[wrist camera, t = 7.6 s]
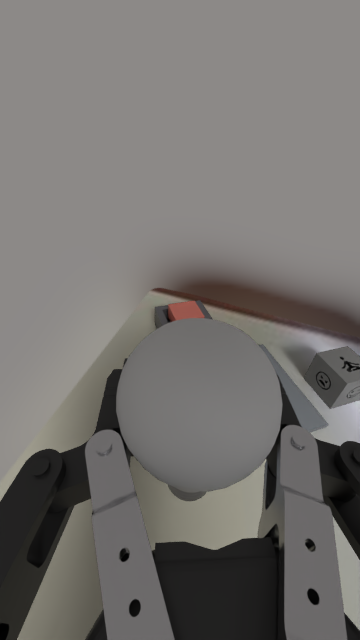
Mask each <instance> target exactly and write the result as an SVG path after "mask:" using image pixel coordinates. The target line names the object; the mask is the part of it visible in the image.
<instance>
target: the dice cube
mask: <svg viewBox="0 0 360 640" xmlns="http://www.w3.org/2000/svg"><path fill="white" fill-rule="evenodd" d="M304 379H305V380H306V381H307V383H308V384H309V385H310V386H311V387H312V388H313V390H314V391H315V392H316V393H317V394H318V395H319V397H320V398H321V399H322V400H323V401H324V402H325V404H326V405H327V406H328V407H329V408H330V409H332V408H335V407H338V406H342V405H345V404H349V403H352V402H355V401H359V400H360V356H358V355H357V354H356V353H355V352H354V351H353V350H351V349H350V348H349V347H348V346H347V347H342V348H338V349H333V350H329V351H324V352H320V353H317V354H316V356H315V358H314V359H313V361H312V363H311V365H310V367H309V369H308V371H307V373H306V375H305V377H304Z"/></svg>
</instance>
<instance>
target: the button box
mask: <svg viewBox="0 0 360 640" xmlns="http://www.w3.org/2000/svg"><path fill="white" fill-rule="evenodd" d="M195 302H196V304H197V305H198V307H199V309H200V310H201V312H202V313H203V315H204V316H205V317H204V318H206V319H212V317H211V316H210V314H209V313H208V311H207V310H206V309H205V307H204V306H203V304H202V303H201V301H195ZM168 323H170V320H169V318H168V305H166V306H159V307H155V325H156V327H157V329H158V328H160V327H161V326H163V325H165V324H168Z"/></svg>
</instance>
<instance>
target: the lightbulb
mask: <svg viewBox="0 0 360 640" xmlns="http://www.w3.org/2000/svg"><path fill="white" fill-rule="evenodd" d="M282 405H283V404H282V397H281V390H280V384H279V380H278V377H277V374H276V372H275V369H274V367H273V366H272V364H271V362H270V360H269V359H268V357H267V356H266V354H265V352H264V351H263V350H262V349H261V348H260V347H259V346H258V345H257V344H256V342H255V341H254V340H253V339H252V338H251V337H250V336H248V335H247V334H246V333H244V332H243V331H241V330H240V329H238V328H236V327H234V326H232V325H230V324H227V323H225V322H221V321H217V320H213V319H206V318H188V319H181V320H177V321H173V322H170V323H168V324H165V325H163V326H161V327H160V328H158V329H156V330H155V331H153V332H152V333H150V334H149V335H148V336H147V337H145V338H144V339H143V340H142V341H141V342H140V343H139V345H138V346H137V347H136V348H135V349H134V351H133V352H132V353H131V354H130V355H129V357H128V359H127V361H126V363H125V365H124V367H123V370H122V373H121V375H120V379H119V383H118V388H117V396H116V413H117V417H118V422H119V426H120V430H121V435H122V437H123V439H124V441H125V443H126V445H127V447H128V449H129V450H130V452H131V453H132V454H133V455H134V456H135V458H136V459H137V460H138V461H139V463H140V464H141V465H142V466H143V468H144V469H145V470H147V471H148V472H149V473H151V474H152V475H153V476H154V477H156V478H157V479H158V480H160V481H162V482H164V483H166V484H168V487H169V489H170V490H171V492H172V493H173V494H174V495H175V496H176V497H177V498H179V499H181V500H184V501H195V500H197V499H200V498H201V497H202V496H204V495H205V493H206V492H207V491H213V490H218V489H223V488H226V487H228V486H231V485H233V484H235V483H237V482H239V481H241V480H242V479H244V478H246V477H247V476H248V475H250V474H251V473H252V472H253V471H254V470H256V469H257V468H258V467H259V466H260V465H261V464H262V463H263V461H264V460H265V459H266V457H267V456H268V454H269V453H270V452H271V450H272V448H273V446H274V444H275V441H276V438H277V436H278V433H279V430H280V424H281V415H282Z"/></svg>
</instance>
